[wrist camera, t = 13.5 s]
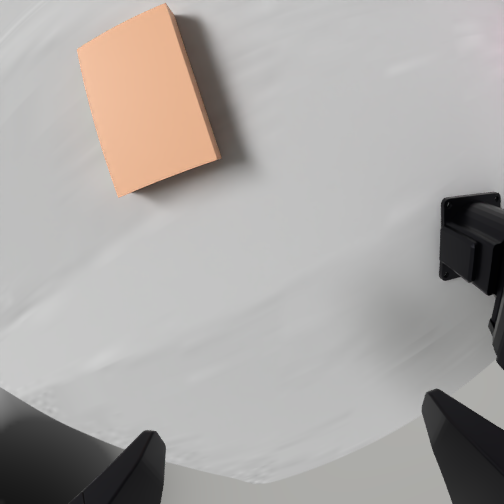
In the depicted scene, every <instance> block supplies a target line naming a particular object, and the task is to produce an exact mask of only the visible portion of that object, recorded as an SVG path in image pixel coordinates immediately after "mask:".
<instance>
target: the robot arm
mask: <svg viewBox="0 0 504 504" xmlns="http://www.w3.org/2000/svg"><path fill="white" fill-rule="evenodd" d="M495 197H496V199H495ZM448 202H449V206H448V207H447V203H448ZM500 203H501V198H500V194H499V193H496V192H488V193H480V194H471V195H463V196H455V197H447V198H444V199H443V200H442V202H441V232H440V270H439V276H440V278H441V279H442V280H444V281H447V280H450V279H454V278H458V277H462V278H463V279H465V280H466V281H467V282H469V283H470V282H472V283H473V284H474V285H475V286H477V287H478V288H479V289H480V290H482V291H483V292H484V293H485V294H486V295H488V296H490V295H492V294H493V295H494V296H495V297H496V300H495V305H494V310H493V314H492V318H491V319H490V321H489V325H488V327H489V329H490V331H491V334H492V336H493V343H492V345H493V347H494V350H495V353H496V355H497V358H496V361H497V363H498V364H499V365H500V366H501V368H502V369H503V370H504V209H502V208H500ZM445 273H446V275H444V274H445ZM422 415H423V418H424V421H425V424H426V428H427V432H428V435H429V439H430V443H431V446H432V449H433V452H434V455H435V457H436V460H437V462H438V465H439V467H440V470H441V473H442V475H443V478H444V481H445V483H446V486H447V489H448V492H449V495H450V497H451V500H452V503H453V504H504V430H503V429H501V428H499V427H497V426H496V425H494V424H493V423H491V422H490V421H488V420H486V419H485V418H483V417H482V416H480V415H479V414H477V413H476V412H474V411H472V410H471V409H469V408H468V407H466V406H465V405H463V404H461V403H460V402H458V401H457V400H455V399H454V398H452V397H450V396H449V395H447V394H446V393H444V392H443V391H441V390H439V389H434V390H431V391H428V392H427V393H426V395H425V398H424V401H423V405H422ZM165 453H166V446H165V443H164V442H163V440H162V439H161V437H160V436H159V435H158V433H157V432H156V431H151V430H145V431H143V432H142V433H141V434H140V435H139V436H138V437H137V438H136V439H135V440H134V441H133V442H132V443H131V444H130V445H129V446H128V447H127V448H126V449H125V450H124V451H123V453H121V454H120V455H119V456H118V457H117V458H116V459H115V460H114V461H113V462H112V463H111V464H110V465H109V466H108V467H107V468H106V469H105V470H104V471H103V472H102V473H101V474H100V475H99V476H98V477H97V478H96V479H95V480H94V481H92V482H91V483H90V485H88V486H87V487H86V488H85V489H84V490H83V491H82V492H81V493H80V494H79V495H78V496H76V497H75V499H73V500H72V501H71V502H70V503H68V504H160V503H161V497H162V491H163V485H164V469H165Z"/></svg>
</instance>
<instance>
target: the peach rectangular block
mask: <svg viewBox="0 0 504 504" xmlns="http://www.w3.org/2000/svg"><path fill="white" fill-rule="evenodd" d="M77 52H78V58H79V62H80V67H81V72H82V76H83V81H84V85H85V89H86V93H87V97H88V101H89V105H90V109H91V113H92V116H93V120H94V124H95V127H96V131H97V134H98V137H99V141H100V144H101V147H102V151H103V154H104V157H105V160H106V163H107V166H108V169H109V172H110V175H111V178H112V181H113V184H114V187H115V190H116V192H117V195H118V198H119V197H121V196H124V195H126V194H129V193H131V192H134V191H136V190H139V189H141V188H143V187H146V186H148V185H151V184H153V183H156V182H158V181H161V180H163V179H166V178H169V177H171V176H174V175H176V174H179V173H182V172H184V171H187V170H190V169H193V168H195V167H198V166H201V165H204V164H207V163H210V162H213V161H216V160H219V159H221V155H220V152H219V149H218V145H217V142H216V139H215V136H214V133H213V130H212V127H211V124H210V121H209V118H208V115H207V112H206V109H205V106H204V103H203V100H202V97H201V94H200V91H199V88H198V85H197V82H196V79H195V76H194V73H193V70H192V67H191V64H190V61H189V58H188V55H187V52H186V49H185V46H184V43H183V40H182V37H181V34H180V31H179V28H178V25H177V23H176V20H175V17H174V14H173V13H172V12H171V10H170V9H169V7H168V6H167V4H166V3H164V4H162V5H160V6H157V7H155V8H153V9H150V10H148V11H146V12H144V13H141V14H139V15H137V16H135V17H133V18H131V19H129V20H127V21H125V22H123V23H121V24H119V25H117V26H115V27H114V28H112V29H110V30H108V31H106V32H105V33H103V34H101V35H99V36H98V37H96V38H94V39H92V40H91V41H89V42H88V43H86V44H84V45H83V46H81V47H80V48H78V49H77Z"/></svg>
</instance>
